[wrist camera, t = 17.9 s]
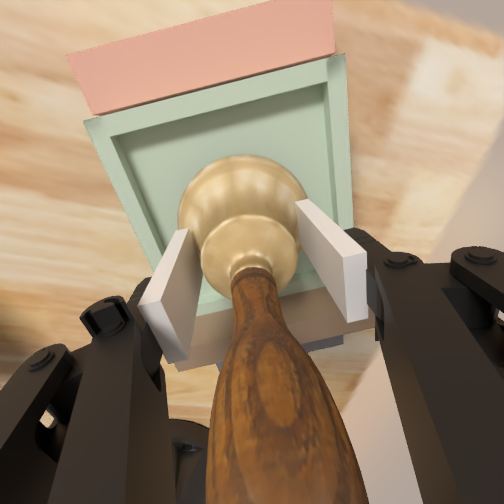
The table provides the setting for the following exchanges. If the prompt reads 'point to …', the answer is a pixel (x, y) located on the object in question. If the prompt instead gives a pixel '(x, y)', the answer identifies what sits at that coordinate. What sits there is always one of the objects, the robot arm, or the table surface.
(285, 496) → the hand bell
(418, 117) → the table surface
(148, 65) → the track
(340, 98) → the pale green tray
